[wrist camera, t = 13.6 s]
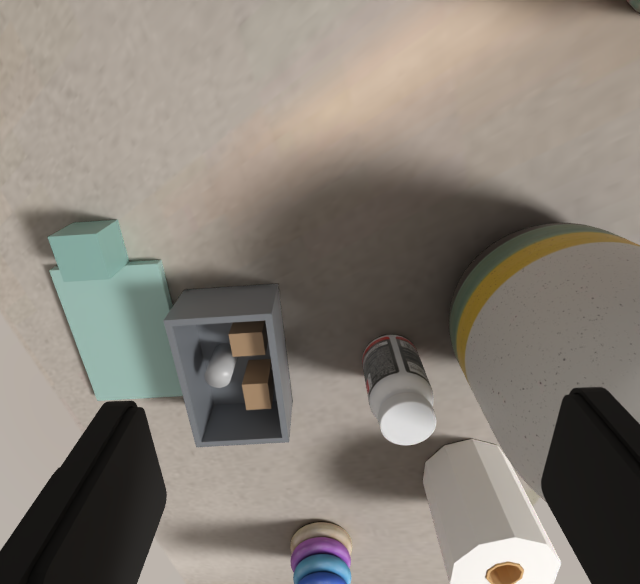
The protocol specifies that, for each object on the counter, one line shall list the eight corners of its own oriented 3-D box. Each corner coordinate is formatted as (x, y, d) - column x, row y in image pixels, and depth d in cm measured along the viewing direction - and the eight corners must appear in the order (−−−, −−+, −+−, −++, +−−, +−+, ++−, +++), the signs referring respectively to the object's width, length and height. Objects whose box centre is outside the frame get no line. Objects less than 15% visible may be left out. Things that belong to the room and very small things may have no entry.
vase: (525, 393, 46) (708, 664, 24) (400, 318, 42) (487, 560, 20) (655, 272, 40) (1052, 487, 18) (524, 170, 36) (833, 292, 14)
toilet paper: (415, 498, 53) (440, 604, 42) (432, 435, 49) (464, 535, 38) (495, 503, 53) (540, 610, 43) (519, 441, 49) (576, 542, 38)
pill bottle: (362, 380, 45) (373, 452, 36) (360, 334, 43) (370, 399, 34) (417, 377, 45) (441, 448, 36) (417, 330, 43) (443, 394, 34)
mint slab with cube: (40, 224, 38) (11, 239, 35) (151, 217, 38) (133, 231, 34) (101, 394, 46) (83, 420, 43) (193, 389, 46) (182, 415, 42)
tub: (184, 289, 41) (163, 320, 35) (278, 283, 41) (271, 313, 35) (210, 405, 47) (196, 447, 41) (292, 400, 46) (289, 442, 41)
